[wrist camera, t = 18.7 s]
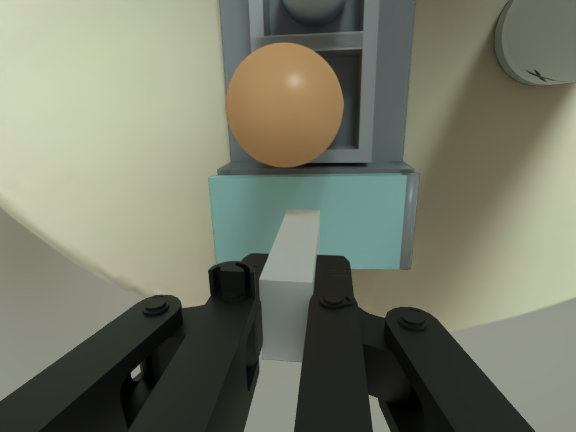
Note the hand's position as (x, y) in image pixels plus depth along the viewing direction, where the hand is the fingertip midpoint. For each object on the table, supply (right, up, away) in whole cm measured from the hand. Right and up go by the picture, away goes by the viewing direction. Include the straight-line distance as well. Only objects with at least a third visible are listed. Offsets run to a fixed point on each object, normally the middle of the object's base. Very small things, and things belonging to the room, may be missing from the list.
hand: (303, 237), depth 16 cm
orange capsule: (+1, +8, +7) cm, 11 cm away
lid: (+1, +1, +5) cm, 5 cm away
